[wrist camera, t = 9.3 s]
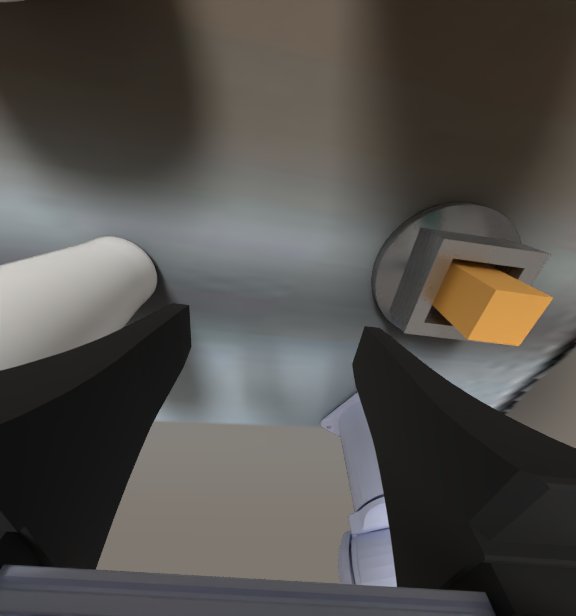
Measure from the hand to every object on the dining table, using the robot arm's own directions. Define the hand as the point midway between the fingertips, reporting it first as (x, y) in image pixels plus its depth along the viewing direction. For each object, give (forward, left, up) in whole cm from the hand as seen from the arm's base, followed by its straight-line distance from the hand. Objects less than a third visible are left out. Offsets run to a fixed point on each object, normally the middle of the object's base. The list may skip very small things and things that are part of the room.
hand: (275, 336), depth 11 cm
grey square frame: (-10, -7, -10) cm, 15 cm away
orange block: (-10, -7, -9) cm, 15 cm away
